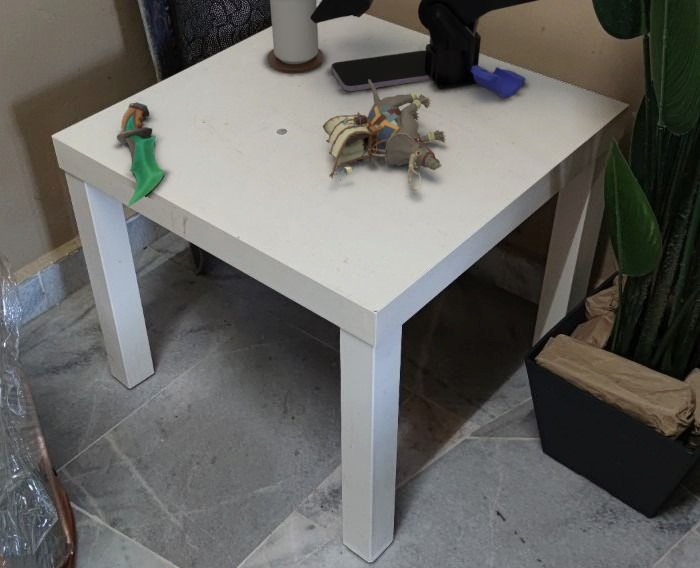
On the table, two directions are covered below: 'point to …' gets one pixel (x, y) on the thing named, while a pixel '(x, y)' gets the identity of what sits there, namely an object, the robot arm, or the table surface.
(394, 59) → the smartphone
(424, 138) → the figurine
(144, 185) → the knife
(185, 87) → the table surface
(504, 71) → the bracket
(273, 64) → the coaster
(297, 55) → the beverage can
